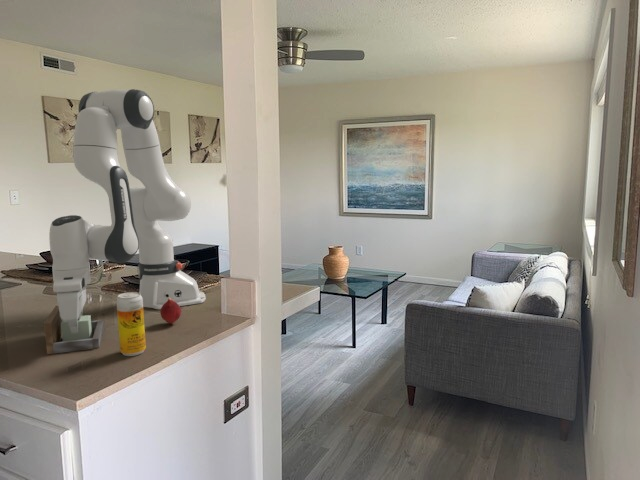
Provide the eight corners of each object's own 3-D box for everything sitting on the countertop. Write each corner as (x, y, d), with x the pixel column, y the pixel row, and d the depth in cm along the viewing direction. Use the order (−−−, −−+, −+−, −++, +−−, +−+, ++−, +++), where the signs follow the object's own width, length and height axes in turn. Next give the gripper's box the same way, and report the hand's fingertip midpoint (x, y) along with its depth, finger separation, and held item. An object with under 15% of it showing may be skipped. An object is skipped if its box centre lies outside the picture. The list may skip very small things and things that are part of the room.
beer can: (130, 358, 119) (126, 299, 116) (115, 353, 122) (110, 296, 119) (151, 350, 124) (147, 293, 121) (135, 345, 127) (131, 290, 124)
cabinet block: (92, 335, 135) (90, 309, 134) (90, 342, 130) (87, 315, 129) (66, 338, 133) (63, 312, 131) (63, 345, 128) (60, 317, 127)
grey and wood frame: (104, 327, 141) (102, 301, 139) (99, 347, 126) (96, 318, 124) (58, 332, 137) (55, 305, 135) (47, 354, 122) (43, 323, 120)
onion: (185, 321, 145) (184, 296, 144) (173, 328, 140) (172, 301, 139) (169, 319, 147) (167, 294, 146) (157, 326, 142) (155, 299, 141)
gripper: (65, 270, 137) (69, 317, 139) (51, 288, 118) (57, 342, 120) (89, 268, 139) (93, 314, 141) (80, 285, 120) (85, 338, 122)
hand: (76, 327), depth 131 cm, fingers open, 6 cm apart
